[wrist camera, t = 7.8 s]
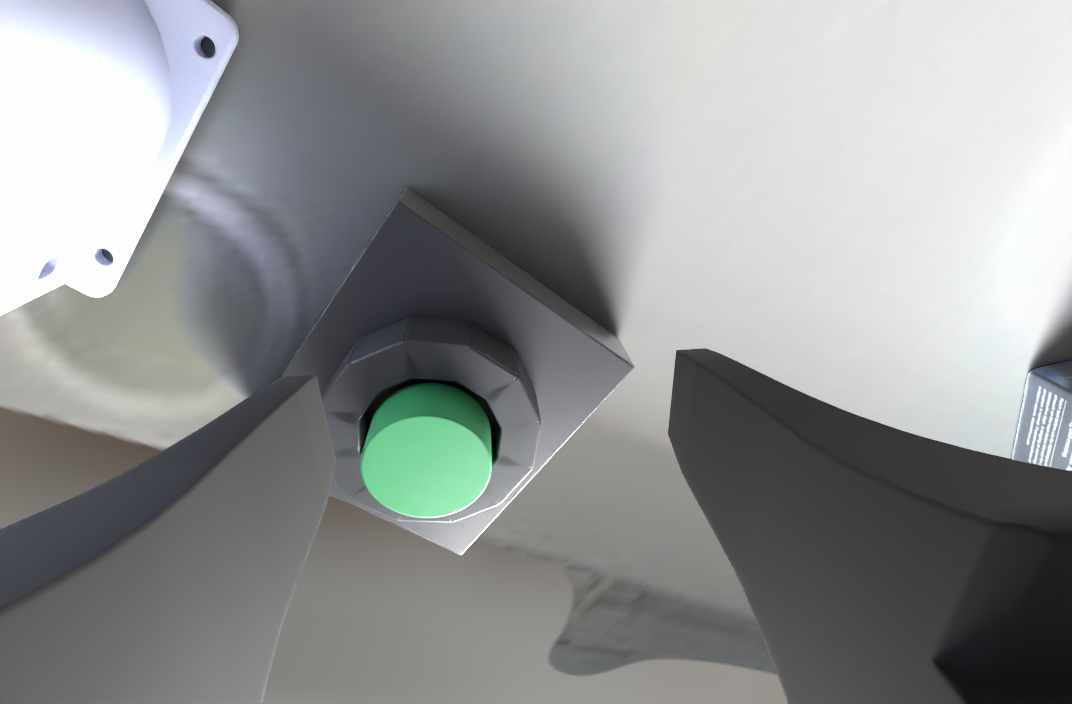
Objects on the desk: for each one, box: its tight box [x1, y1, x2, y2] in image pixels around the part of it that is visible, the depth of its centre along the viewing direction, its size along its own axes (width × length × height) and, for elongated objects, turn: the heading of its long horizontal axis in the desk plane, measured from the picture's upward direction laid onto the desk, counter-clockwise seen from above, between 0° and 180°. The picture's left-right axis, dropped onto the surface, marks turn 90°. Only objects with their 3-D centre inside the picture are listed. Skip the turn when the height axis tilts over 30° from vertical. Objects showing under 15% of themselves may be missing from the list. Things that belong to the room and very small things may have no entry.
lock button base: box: [278, 187, 634, 555], centre depth 18 cm, size 10×9×4 cm
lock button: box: [360, 383, 492, 518], centre depth 16 cm, size 4×4×2 cm
